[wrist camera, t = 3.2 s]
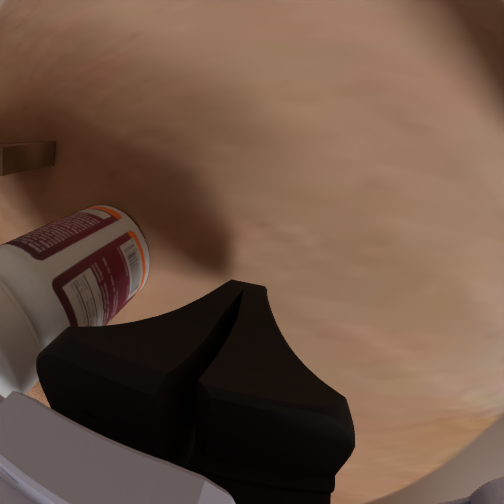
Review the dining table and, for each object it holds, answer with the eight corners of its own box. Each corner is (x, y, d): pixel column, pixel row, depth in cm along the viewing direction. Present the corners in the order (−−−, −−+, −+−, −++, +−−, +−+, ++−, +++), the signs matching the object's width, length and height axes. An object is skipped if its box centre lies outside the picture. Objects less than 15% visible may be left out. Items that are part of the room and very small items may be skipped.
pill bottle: (62, 250, 14) (-58, 325, 6) (101, 182, 12) (-61, 239, 4) (122, 314, 14) (20, 425, 7) (172, 256, 13) (41, 385, 5)
